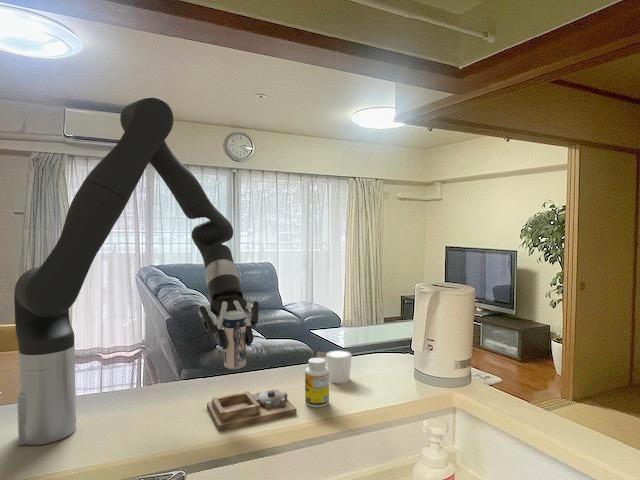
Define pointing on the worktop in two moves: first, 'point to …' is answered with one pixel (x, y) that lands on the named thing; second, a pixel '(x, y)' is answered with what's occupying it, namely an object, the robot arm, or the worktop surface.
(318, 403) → the supplement bottle
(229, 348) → the beer can
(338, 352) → the white cup
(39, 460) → the worktop surface
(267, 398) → the gear board
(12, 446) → the worktop surface
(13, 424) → the worktop surface
